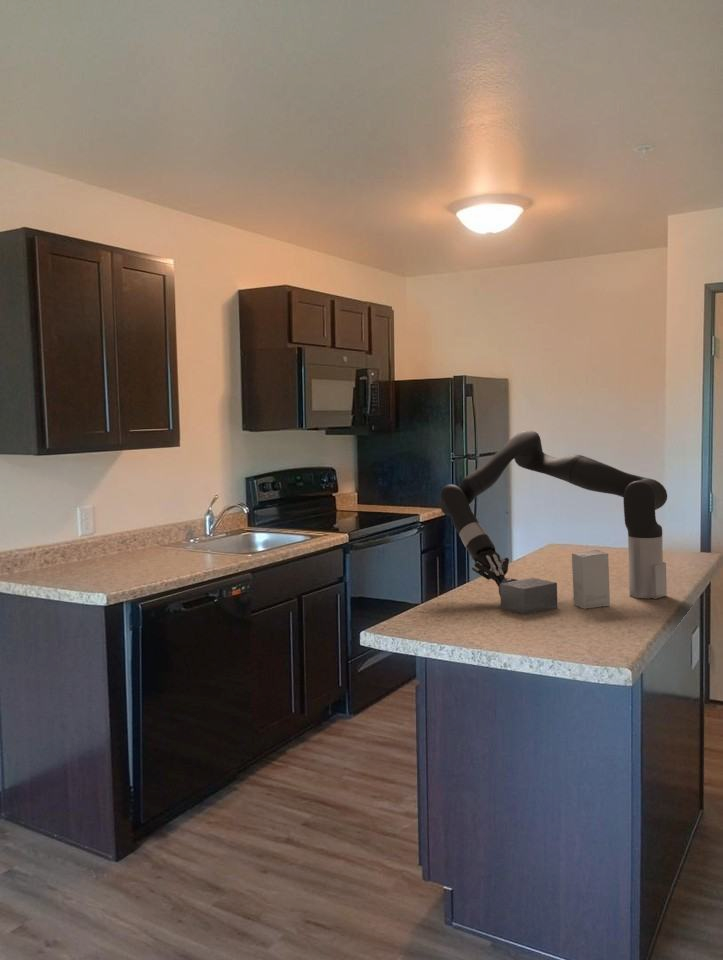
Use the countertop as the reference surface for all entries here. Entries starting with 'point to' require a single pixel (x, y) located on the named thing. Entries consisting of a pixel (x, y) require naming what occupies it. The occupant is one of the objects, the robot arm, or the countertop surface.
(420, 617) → the countertop surface
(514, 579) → the knob
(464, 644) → the countertop surface
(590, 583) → the skincare box
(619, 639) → the countertop surface
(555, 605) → the block
